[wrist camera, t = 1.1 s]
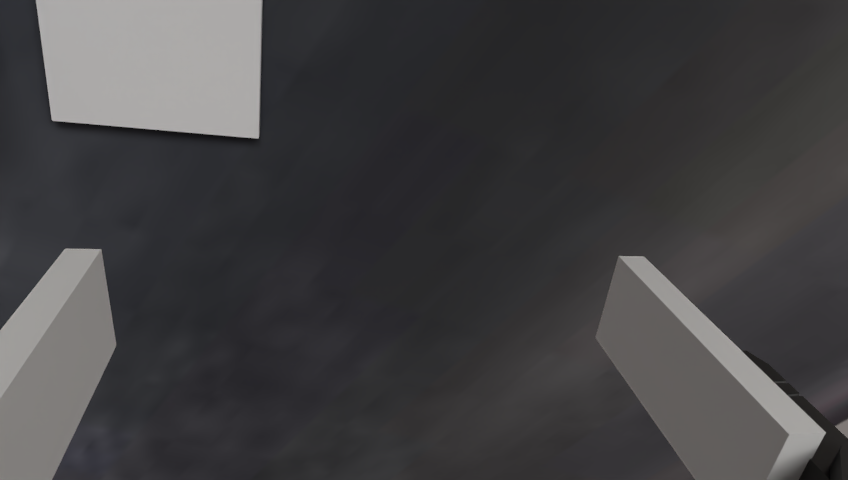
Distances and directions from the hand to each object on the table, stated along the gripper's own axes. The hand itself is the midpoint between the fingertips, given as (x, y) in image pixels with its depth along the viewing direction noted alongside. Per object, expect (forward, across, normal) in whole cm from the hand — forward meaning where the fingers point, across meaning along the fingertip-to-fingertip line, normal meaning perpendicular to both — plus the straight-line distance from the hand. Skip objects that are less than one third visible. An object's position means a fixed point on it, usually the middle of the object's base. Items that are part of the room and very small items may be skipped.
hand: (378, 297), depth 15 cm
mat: (+26, -11, +3) cm, 28 cm away
